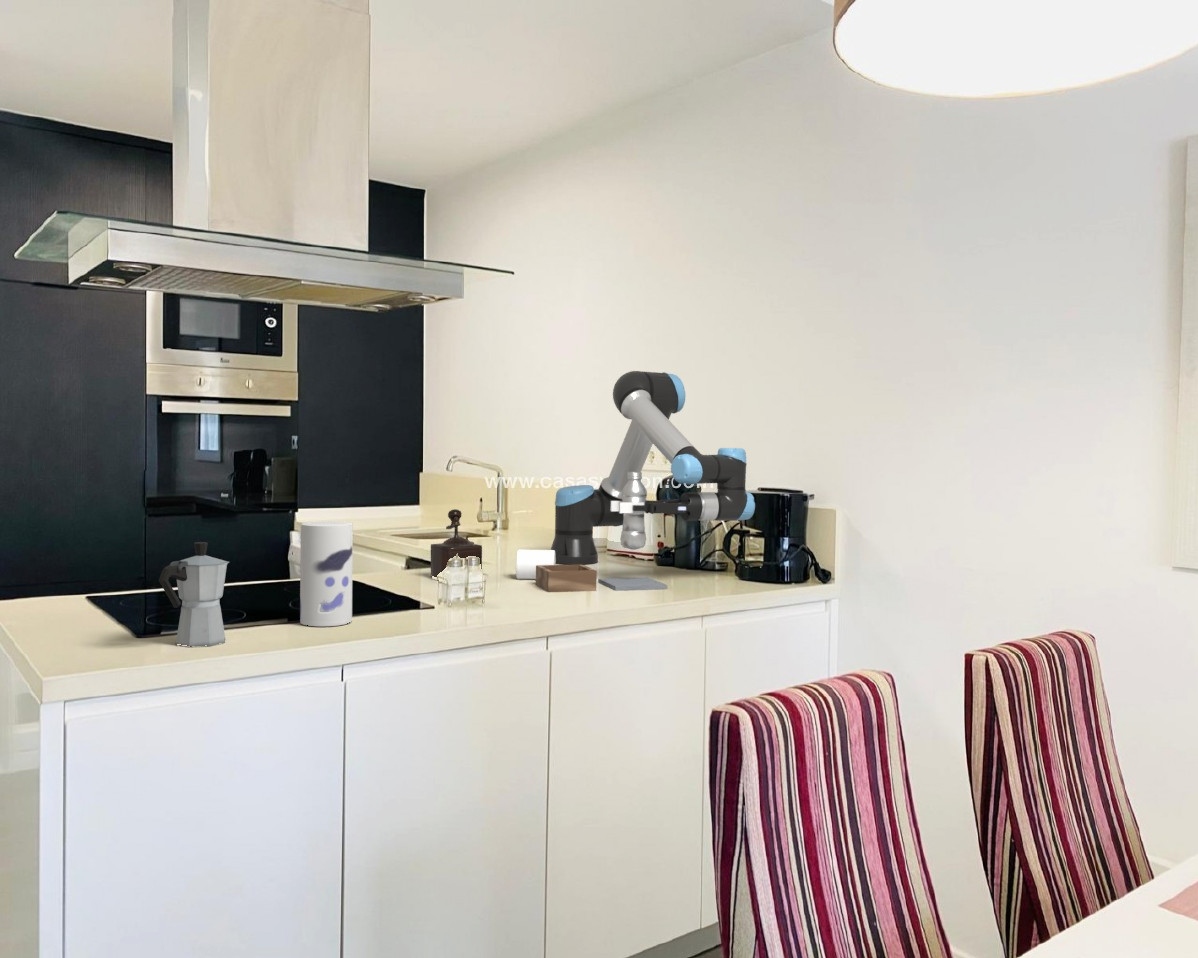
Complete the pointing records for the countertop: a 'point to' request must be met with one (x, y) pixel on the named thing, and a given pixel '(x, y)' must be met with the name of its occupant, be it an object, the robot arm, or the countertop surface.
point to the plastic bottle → (633, 522)
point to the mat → (632, 583)
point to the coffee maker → (197, 597)
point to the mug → (532, 562)
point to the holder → (566, 578)
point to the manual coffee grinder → (452, 547)
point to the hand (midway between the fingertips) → (615, 506)
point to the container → (326, 573)
